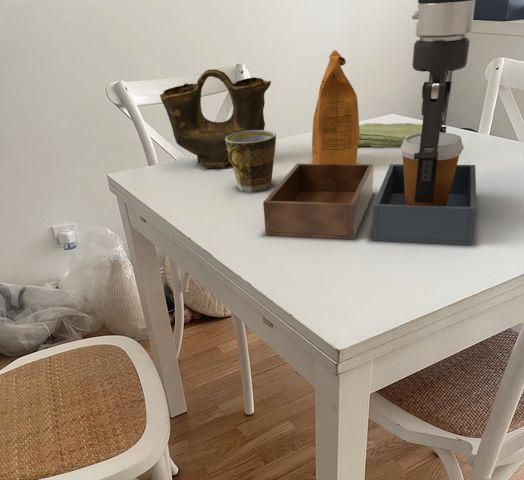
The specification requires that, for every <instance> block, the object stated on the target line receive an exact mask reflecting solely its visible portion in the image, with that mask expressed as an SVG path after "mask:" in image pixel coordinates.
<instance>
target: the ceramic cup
mask: <svg viewBox="0 0 524 480" xmlns="http://www.w3.org/2000/svg"><path fill="white" fill-rule="evenodd" d="M225 141H226V145H227V149H228V153H229V161H230V162H229V164H231V165H232V168H233V172H234V176H235V179H236V184H237V186H238V188H239V189H240V191H241V192H245V193H246V192H247V193H254V192H261V191H265V190H267V189H269V188H270V187H271V186H272V181H273V170H274V162H275V161H274V159H275V154H276V145H277V144H276V142H277V134H276V133H275V132H274V131H271V130H266V129H264V130H250V131H243V132H238V133H234V134H231V135H229V136H227V137H226V138H225Z"/></svg>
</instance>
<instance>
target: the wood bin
mask: <svg viewBox="0 0 524 480" xmlns="http://www.w3.org/2000/svg"><path fill="white" fill-rule="evenodd" d="M374 168H375V164H374V163H356V164H313V163H302V162H301V163H300V162H299V163H298V162H297V163H296V164H295V165H294V166H293V167H292V168H291V169H290V170H289V172H288V173H287V174H286V175H285V177H284V178H282V180H281V181H280V182H279V184H277V186H275V188H274V190H272V191H271V192H270V194H269V195H268V196H267V197H266V198H265V199H264V201H262V202H263V203H262V206H263V215H264V216H263V217H264V229H265V230H264V231H265V236H275V237H276V236H277V237H278V236H279V237H295V238H296V237H298V238H318V239H337V240H338V239H339V240H355V237H356V234H357V231H358V230H359V226H360V225H361V223H362V220H363V219H364V218H363V217H364V215H365V213H366V210H367V208H368V206H369V203H370V201H371V198H372V196H373V194H374V170H375V169H374Z"/></svg>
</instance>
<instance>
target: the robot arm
mask: <svg viewBox="0 0 524 480" xmlns="http://www.w3.org/2000/svg"><path fill="white" fill-rule="evenodd" d="M475 5H476V0H417V10H415V11H413V12H412V14H411V18H412V20H417V21H416V23H415V36H416V37H418V38H419V39H418V40H415V42H414V43H413V53H412V54H413V55H412V69H413V70H415V71H417V72H428V73H429V75H428V81H424V82H423V85H422V88H421V89H422V90H421V98H422V102H421V115H422V124H421V125H422V132H421V141H420V150H419V152H418V153H414V159H418V168H417V179H416V190H415V201H414V202H426V203H433V196H434V187H435V179H436V170H437V161H438V158H437V157H438V143H439V135H440V132H443V133H447V126H443V125H444V116H445V115H446V114H447V106H448V101H449V98H450V96H451V90H452V81H451V80H450V81H448V76H449V73H450V72H451V71H452V72H453V71H460V70H462V69H464V68H466V66H467V64H468V59H469V58H468V57H469V51H470V50H469V49H470V40H469V38H468V37H467V35H469V34H471V32H472V29H473V21H474V14H475ZM449 71H450V72H449ZM426 148H432V149H426Z"/></svg>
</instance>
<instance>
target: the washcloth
mask: <svg viewBox="0 0 524 480" xmlns="http://www.w3.org/2000/svg"><path fill="white" fill-rule="evenodd" d="M421 132H422V124H420V123H413V122H410V123H409V122H406V123H405V122H403V123H378V122H377V123H376V122H375V123H368V122H367V123H364V124H359V145H358V147H371V148H377V147H378V148H380V147H385V148H386V147H387V148H399V147H401V146H402V144H403V141H404V138H405V137H407V136H410V135H413V134H418V133H421Z"/></svg>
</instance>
